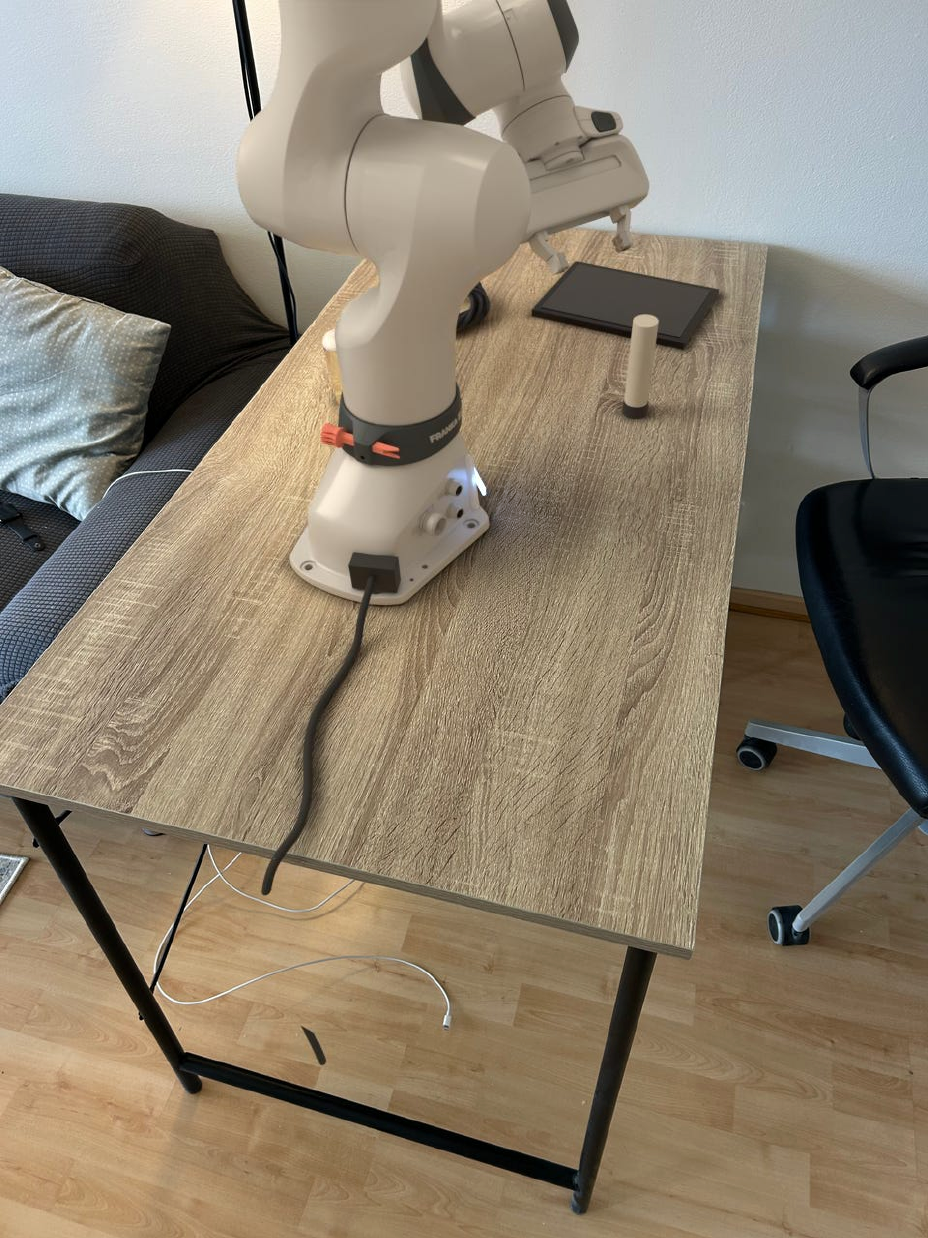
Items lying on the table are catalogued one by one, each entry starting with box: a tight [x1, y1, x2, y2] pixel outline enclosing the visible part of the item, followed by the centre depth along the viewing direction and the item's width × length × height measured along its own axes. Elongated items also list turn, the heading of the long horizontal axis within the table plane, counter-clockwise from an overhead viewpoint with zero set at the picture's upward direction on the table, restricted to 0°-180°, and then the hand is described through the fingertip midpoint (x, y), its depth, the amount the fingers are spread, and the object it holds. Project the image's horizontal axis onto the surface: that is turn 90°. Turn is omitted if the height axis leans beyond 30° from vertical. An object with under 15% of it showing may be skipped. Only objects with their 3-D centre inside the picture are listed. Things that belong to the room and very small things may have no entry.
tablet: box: [531, 260, 720, 350], centre depth 126 cm, size 16×22×1 cm
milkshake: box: [321, 328, 343, 405], centre depth 109 cm, size 5×5×10 cm
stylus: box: [621, 315, 659, 420], centre depth 105 cm, size 3×3×12 cm
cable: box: [456, 281, 491, 332], centre depth 125 cm, size 17×14×4 cm
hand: (594, 260), depth 104 cm, fingers open, 8 cm apart
